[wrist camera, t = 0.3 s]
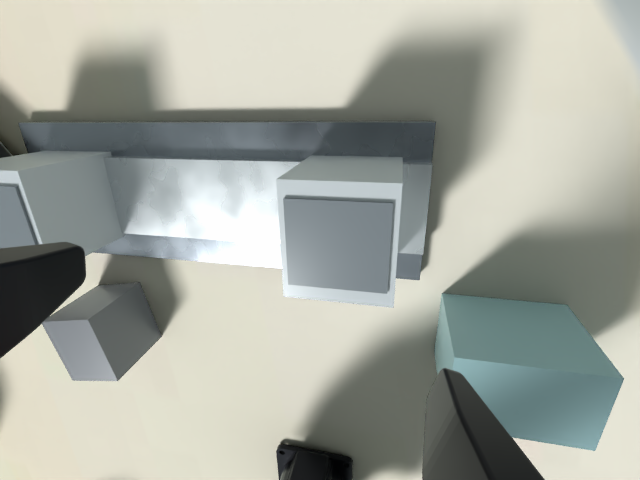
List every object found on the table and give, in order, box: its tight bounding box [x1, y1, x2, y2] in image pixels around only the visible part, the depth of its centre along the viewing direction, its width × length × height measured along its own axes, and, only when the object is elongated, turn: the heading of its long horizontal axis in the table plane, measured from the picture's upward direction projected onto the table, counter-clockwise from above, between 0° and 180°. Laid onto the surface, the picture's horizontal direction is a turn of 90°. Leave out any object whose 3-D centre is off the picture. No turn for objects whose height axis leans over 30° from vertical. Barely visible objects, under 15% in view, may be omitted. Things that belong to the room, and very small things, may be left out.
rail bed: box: [18, 121, 436, 280], centre depth 22 cm, size 9×26×2 cm, turn 91°
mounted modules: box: [0, 151, 403, 308], centre depth 19 cm, size 6×23×6 cm, turn 91°
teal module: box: [434, 293, 624, 451], centre depth 20 cm, size 4×7×6 cm, turn 91°
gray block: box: [42, 282, 162, 381], centre depth 26 cm, size 5×4×5 cm
